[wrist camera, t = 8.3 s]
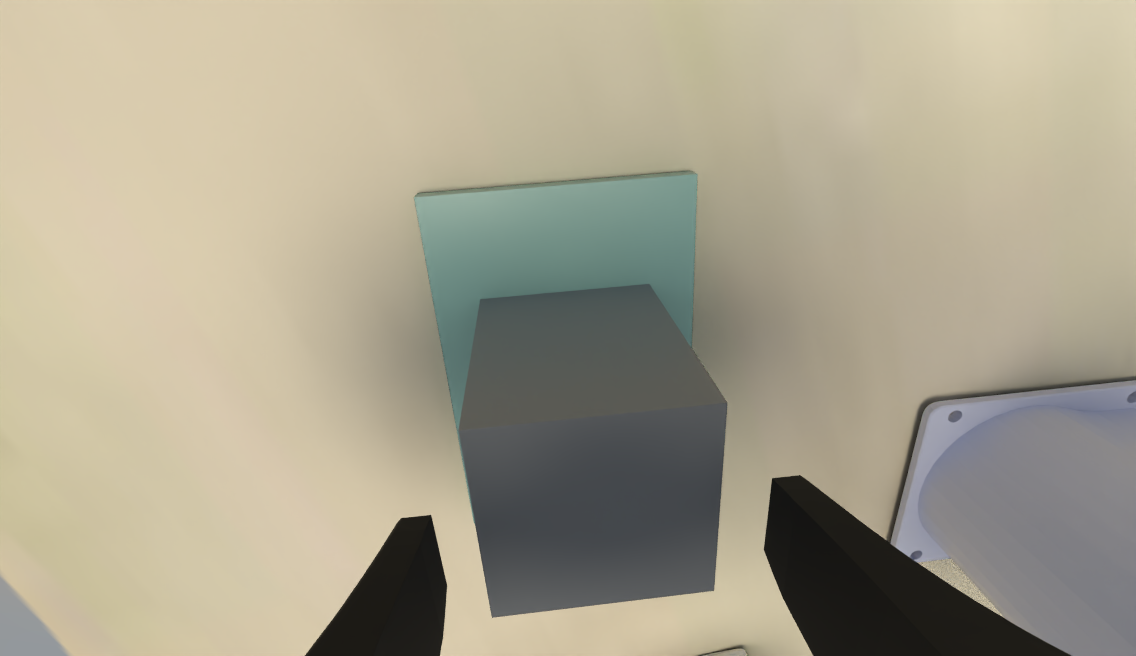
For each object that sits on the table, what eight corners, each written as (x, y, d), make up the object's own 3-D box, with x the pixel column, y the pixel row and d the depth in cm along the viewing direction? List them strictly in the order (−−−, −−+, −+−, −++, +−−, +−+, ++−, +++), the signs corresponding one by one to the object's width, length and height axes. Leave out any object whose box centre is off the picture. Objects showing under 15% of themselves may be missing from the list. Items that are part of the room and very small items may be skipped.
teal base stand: (691, 170, 16) (784, 218, 10) (681, 488, 21) (741, 634, 15) (417, 193, 16) (363, 255, 10) (474, 511, 21) (460, 670, 15)
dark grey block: (649, 283, 17) (727, 403, 10) (649, 423, 19) (714, 590, 13) (480, 298, 16) (458, 430, 10) (500, 439, 19) (492, 617, 12)
